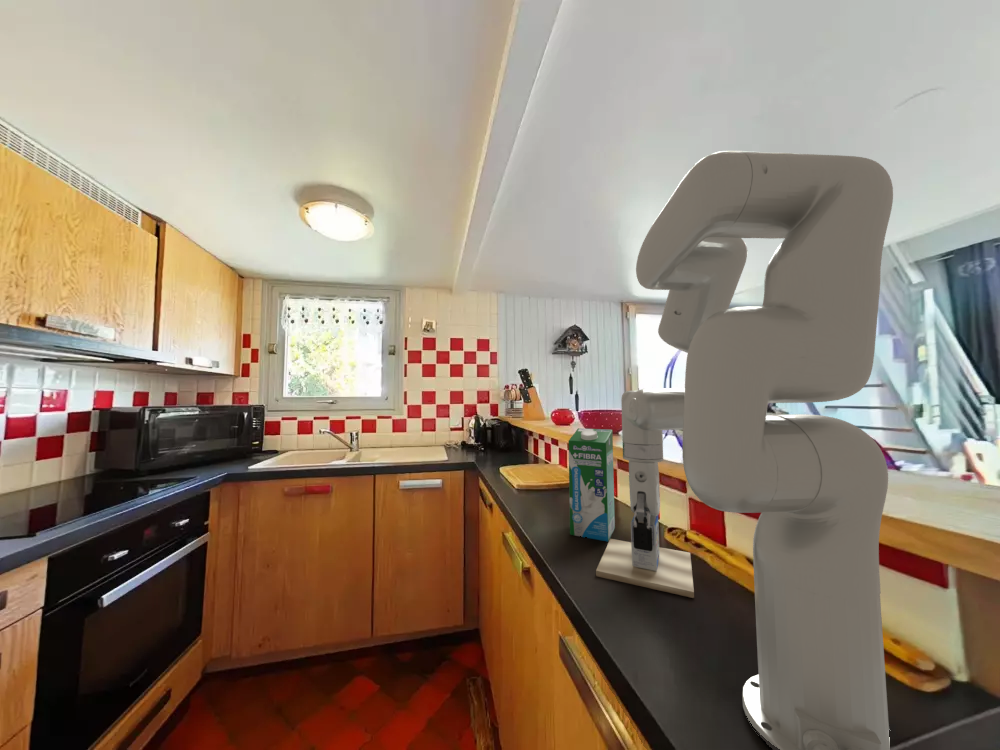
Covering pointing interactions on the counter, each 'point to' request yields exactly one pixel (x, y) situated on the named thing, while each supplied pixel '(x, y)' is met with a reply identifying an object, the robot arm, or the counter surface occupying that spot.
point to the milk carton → (591, 484)
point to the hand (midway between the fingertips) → (645, 539)
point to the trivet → (668, 577)
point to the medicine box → (642, 556)
